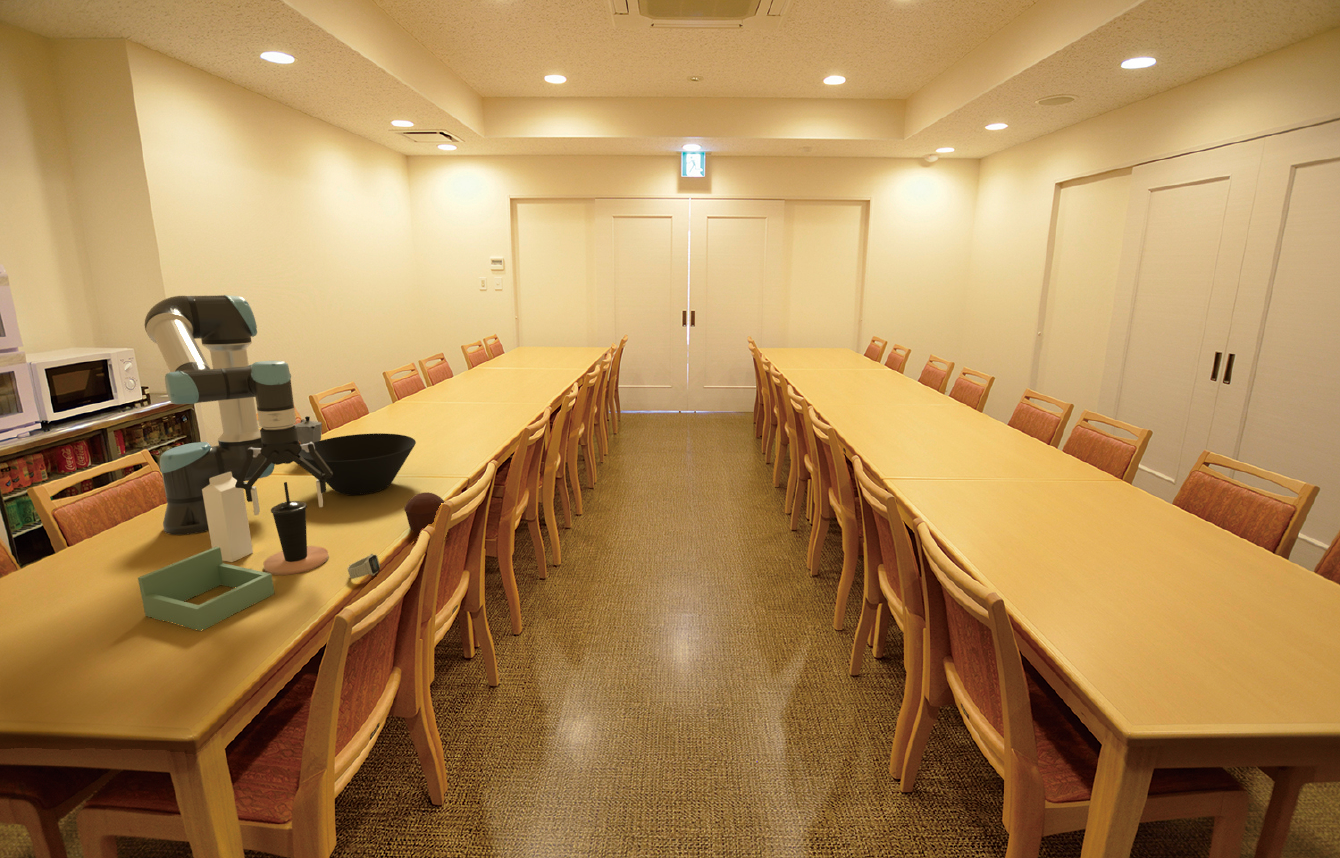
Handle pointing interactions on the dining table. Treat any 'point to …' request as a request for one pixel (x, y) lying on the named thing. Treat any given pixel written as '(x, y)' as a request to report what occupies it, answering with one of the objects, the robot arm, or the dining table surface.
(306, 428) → the coffeepot
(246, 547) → the milk
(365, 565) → the wristwatch
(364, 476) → the bowl
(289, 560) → the drinking cup
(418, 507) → the muffin
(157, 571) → the frame
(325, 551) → the saucer
